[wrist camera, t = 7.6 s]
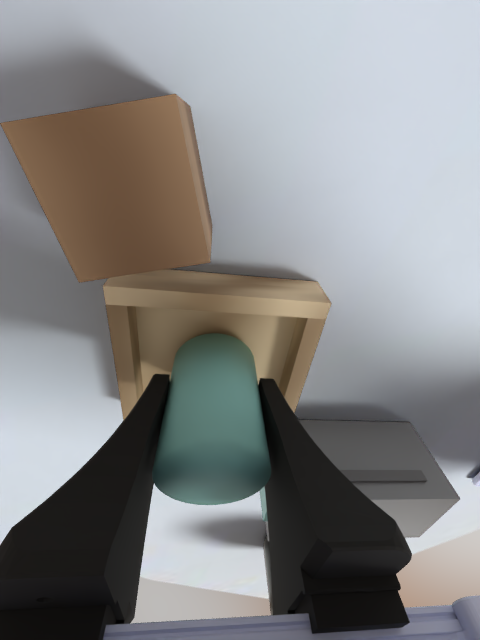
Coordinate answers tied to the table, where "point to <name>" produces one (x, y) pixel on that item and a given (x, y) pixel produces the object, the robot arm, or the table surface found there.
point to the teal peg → (212, 425)
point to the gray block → (385, 469)
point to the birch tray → (212, 324)
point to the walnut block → (119, 185)
